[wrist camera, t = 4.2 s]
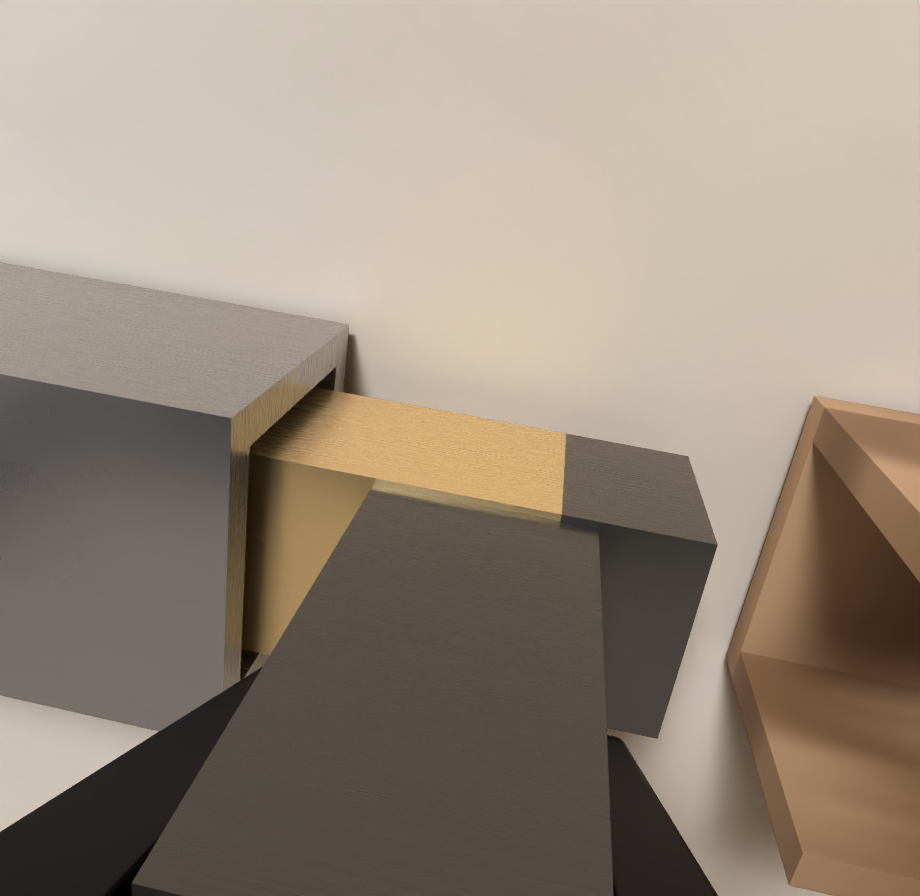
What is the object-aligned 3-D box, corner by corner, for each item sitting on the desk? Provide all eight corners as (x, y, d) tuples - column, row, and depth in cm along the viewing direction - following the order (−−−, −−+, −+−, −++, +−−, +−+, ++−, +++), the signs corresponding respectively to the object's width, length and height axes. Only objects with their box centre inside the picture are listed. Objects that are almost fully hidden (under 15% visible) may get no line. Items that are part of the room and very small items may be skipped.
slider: (-131, 462, 15) (-997, 853, 7) (-157, 299, 14) (-1250, 537, 6) (642, 619, 14) (730, 1327, 6) (688, 456, 13) (886, 1055, 4)
